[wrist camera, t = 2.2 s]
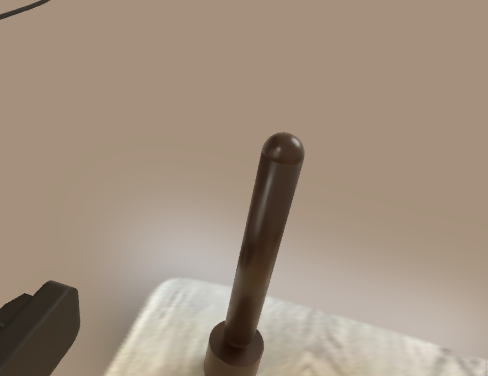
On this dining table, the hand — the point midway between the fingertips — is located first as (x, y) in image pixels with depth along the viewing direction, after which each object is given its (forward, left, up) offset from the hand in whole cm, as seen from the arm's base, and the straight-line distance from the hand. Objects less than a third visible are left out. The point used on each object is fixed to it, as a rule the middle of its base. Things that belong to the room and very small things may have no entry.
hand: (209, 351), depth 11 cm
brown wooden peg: (-7, +7, -16) cm, 19 cm away
